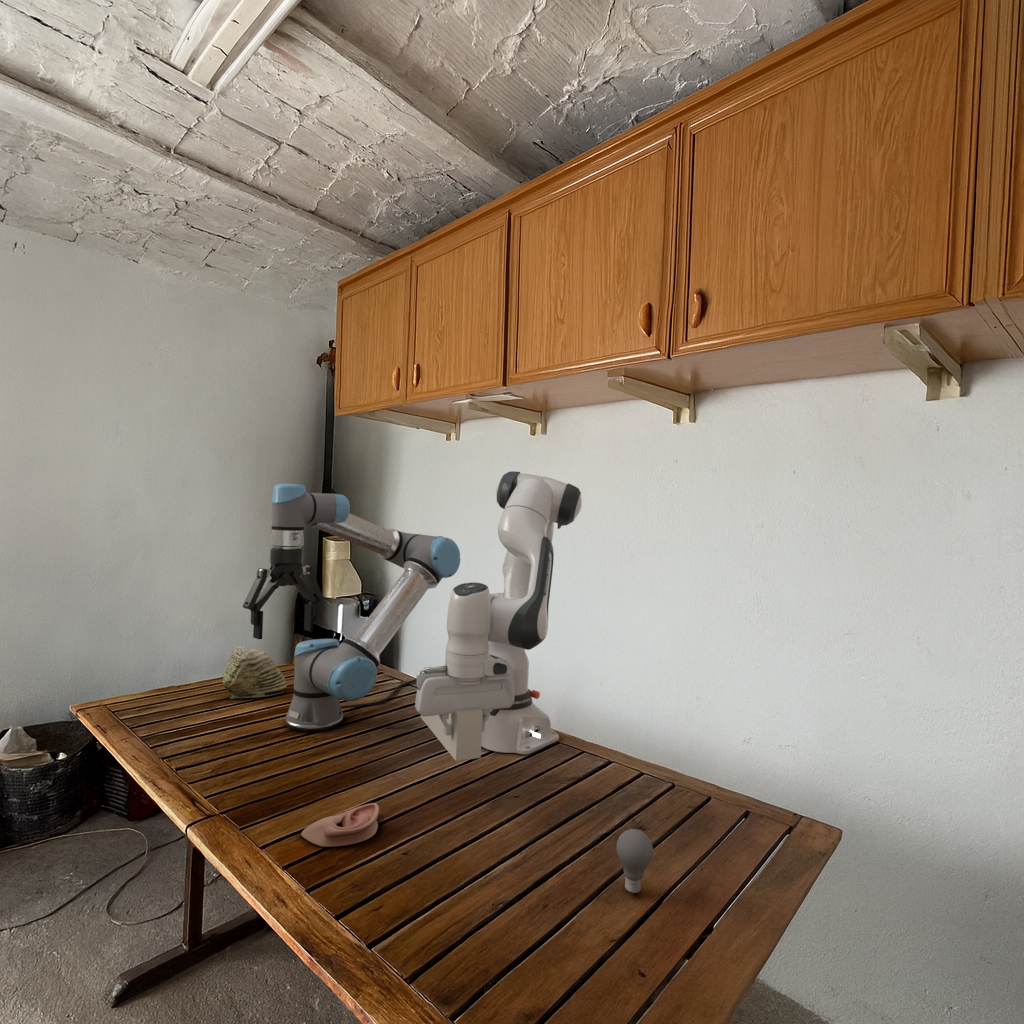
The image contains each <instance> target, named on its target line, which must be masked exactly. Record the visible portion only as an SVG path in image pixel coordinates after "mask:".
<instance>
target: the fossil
mask: <svg viewBox="0 0 1024 1024" xmlns="http://www.w3.org/2000/svg"><path fill="white" fill-rule="evenodd" d="M222 676H223V677H222V685H223V687H224V688H225V690H226V691H228V693H229V698H230V699H250V698H264V697H271V696H275V695H281V694H284V693H285V691H286V689H287V687H288V686H287V680H286V678H285V676H284V674H283V673H282V672H281V669H279V668H278V667H277V665H276V663H275V662H274V660H273V659H272V658H271V657H270V656H269V655H268V654H267V653H266V652H265V650H264V649H263V648H260V647H258V648H251V647H247V646H246V647H245V646H238V647H237V648H236V649H235V650H233V651H232V653H231V656H230V657H229V659H228V660H227V663H226V666H225V668H224V671H223V675H222Z"/></svg>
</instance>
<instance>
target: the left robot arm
mask: <svg viewBox="0 0 1024 1024" xmlns="http://www.w3.org/2000/svg"><path fill="white" fill-rule="evenodd" d="M306 489H307V487H306V486H305V485H304V484H296V483H295V484H294V483H276V484H275V485H274V486H273V489H272V497H271V529H270V546H271V548H270V553H269V554H270V555H269V556H270V557H269V562H270V568H269V569H268V568H262V567H259V568H257V571H256V577H255V579H254V581H253V584H252V585H251V588H250V589H249V592H248V594H247V596H246V598H245V600H244V602H243V604H242V608H243V609H246V610H249V611H250V625H252V626H253V628H252V629H253V630H252V632H253V633H252V637H253V638H254V639H257V640H263V629H264V628H263V627H264V611H263V610H261V609H262V608H263V607H264V605H266V603H267V602H268V600H269V599H270V598H271V596H273V594H274V593H275V591H276V590H277V589H278V588H280V587H286V586H290V587H291V586H294V587H295V588H296V589H297V591H298V592H299V593H300V595H302V597H303V598H304V599H305V601H306V602H307V603H304V616H303V617H304V619H303V630H304V631H307V632H309V633H310V632H313V631H314V618H315V617H316V615H317V614H316V613H317V606H318V605H319V604H320V603H321V602H323V601H324V596H323V593H322V591H321V588H320V586H319V583H318V581H317V579H316V577H315V569H314V566H313V565H307V564H305V565H303V566H302V564H303V562H304V549H303V548H302V547H303V546H304V539H305V538H304V536H305V525H307V526H309V527H313V528H315V529H317V530H320V531H322V532H325V533H328V534H330V535H332V536H335V537H337V538H339V539H342V540H345V541H347V542H349V543H352V544H355V545H357V546H359V547H362V548H364V549H367V550H369V551H371V552H374V553H377V555H378V557H379V558H380V559H382V560H385V561H387V562H389V563H391V564H393V565H396V566H398V567H399V568H402V569H404V571H403V572H402V574H401V575H400V576H399V577H398V579H397V580H396V581H395V582H394V584H393V585H392V587H391V588H390V589H389V590H388V592H386V594H385V596H383V598H382V599H381V601H380V602H379V603H378V604H377V606H376V607H375V608H374V609H373V611H372V612H371V613H370V615H369V616H368V617H367V619H366V620H365V621H364V622H363V624H362V625H361V626H360V628H359V629H358V630H357V631H356V633H355V634H354V636H350V637H345V638H344V639H343V641H341V643H340V641H339V639H337V638H318V639H308V640H304V641H300V642H299V643H297V644H296V646H295V650H294V655H293V657H294V672H293V673H294V674H293V695H292V696H293V697H292V699H291V702H290V704H289V708H288V711H287V713H286V715H285V726H286V728H287V729H289V730H291V731H294V732H295V731H296V732H301V733H316V732H325V731H329V730H332V729H335V728H337V727H339V726H340V725H342V723H343V722H344V713H343V709H352V708H361V707H368V706H373V705H378V704H382V703H385V702H386V701H388V700H389V699H390V698H392V697H393V696H394V695H395V694H396V693H397V691H398V690H399V689H400V688H402V687H403V686H406V685H409V684H412V683H415V682H416V678H415V679H412V680H409V681H405V682H403V683H400V684H399V685H397V686H395V688H394V690H393V691H392V692H391V694H389V695H388V696H386V697H385V698H383V699H380V700H376V701H371V702H365V703H356V704H347V705H341V702H340V700H343V701H346V702H355V701H358V700H361V699H363V698H364V697H366V696H367V695H368V694H370V692H371V691H372V690H373V688H374V687H375V685H376V682H377V679H378V678H377V676H378V669H377V668H378V667H379V665H380V664H381V660H380V655H381V653H382V652H383V651H384V649H386V647H387V646H388V644H389V642H391V640H392V638H393V637H394V636H395V635H396V633H397V632H398V631H399V629H400V628H401V626H402V625H403V624H404V622H405V621H406V620H407V619H408V618H409V615H410V614H411V613H412V612H413V610H414V609H415V608H416V606H417V605H418V603H419V601H421V599H423V596H424V595H425V594H426V592H427V591H428V590H430V589H435V588H437V586H438V585H439V583H440V582H441V581H442V580H443V579H448V578H452V577H453V576H455V574H457V572H458V570H459V568H460V565H461V552H460V551H461V550H460V548H459V546H458V544H457V542H456V541H454V540H453V539H452V538H449V537H446V536H443V535H437V536H436V535H428V534H420V533H410V532H405V531H401V530H397V529H396V528H389V529H387V528H385V527H382V526H380V525H377V524H376V523H373V522H371V521H369V520H367V519H365V518H362V517H359V516H357V515H355V514H353V513H350V512H351V510H350V509H351V508H350V507H351V504H350V501H349V499H348V498H347V496H345V495H344V494H339V493H324V492H323V493H320V492H307V490H306ZM302 574H303V575H304V578H305V581H306V583H307V586H308V587H307V586H306V584H305V581H304V580H303V579H302V577H301V576H302ZM269 576H270V579H269V580H268V581H267V579H268V578H269ZM266 581H267V583H266ZM265 583H266V585H265Z"/></svg>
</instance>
